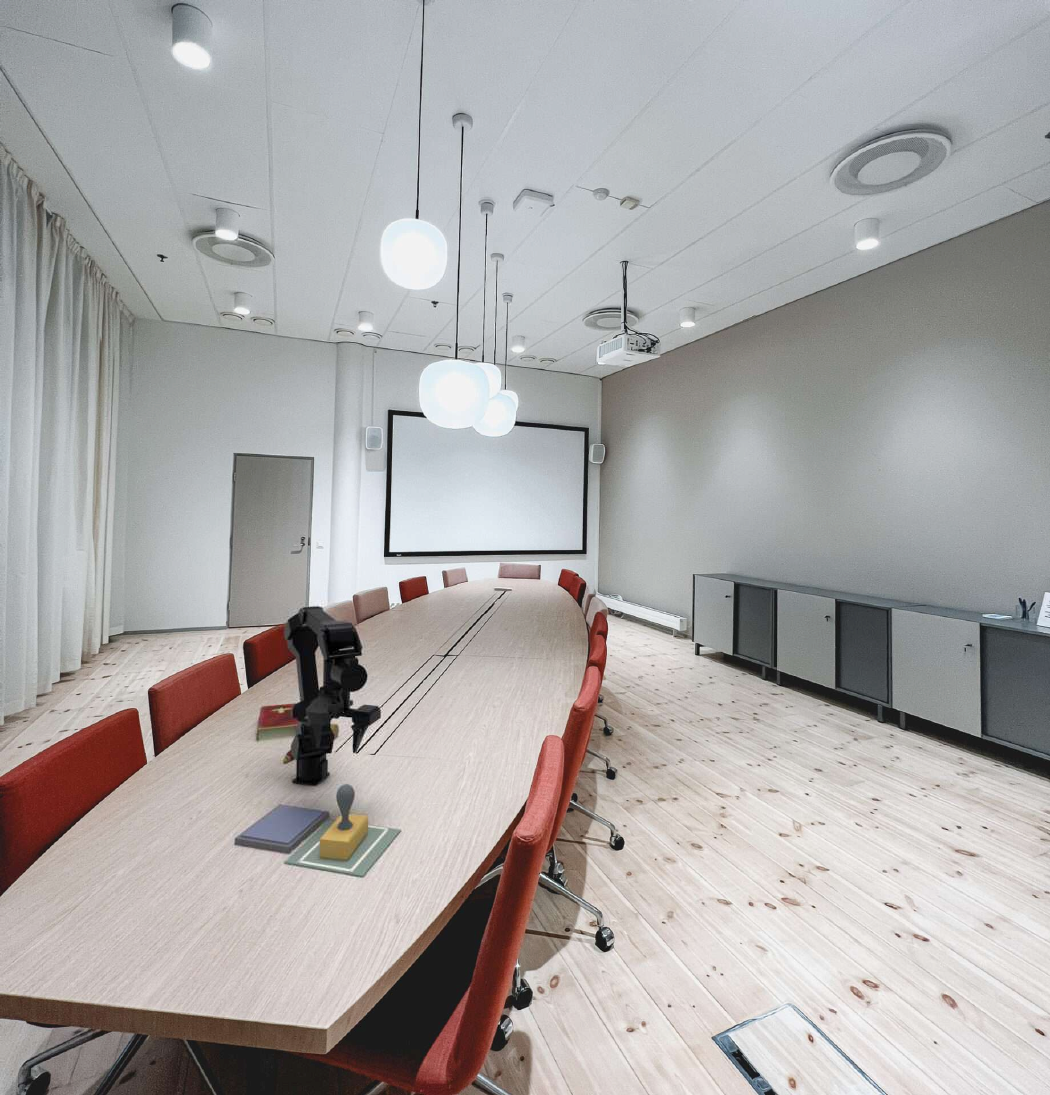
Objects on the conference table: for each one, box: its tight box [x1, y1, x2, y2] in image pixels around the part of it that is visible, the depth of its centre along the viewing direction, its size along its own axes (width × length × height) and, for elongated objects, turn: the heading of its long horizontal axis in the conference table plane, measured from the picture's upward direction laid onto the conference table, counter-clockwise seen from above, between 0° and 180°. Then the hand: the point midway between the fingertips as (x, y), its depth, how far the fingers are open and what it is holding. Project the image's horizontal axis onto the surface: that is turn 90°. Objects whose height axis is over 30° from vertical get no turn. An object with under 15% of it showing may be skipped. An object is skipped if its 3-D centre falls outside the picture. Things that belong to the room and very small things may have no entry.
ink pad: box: [234, 803, 330, 854], centre depth 119 cm, size 12×14×2 cm
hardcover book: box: [256, 702, 299, 742], centre depth 176 cm, size 12×21×4 cm, turn 22°
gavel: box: [282, 723, 340, 764], centre depth 160 cm, size 21×5×10 cm
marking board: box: [283, 818, 402, 878], centre depth 113 cm, size 16×16×1 cm
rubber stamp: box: [319, 784, 369, 860], centre depth 113 cm, size 10×6×12 cm, turn 173°
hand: (335, 750), depth 128 cm, fingers open, 9 cm apart
